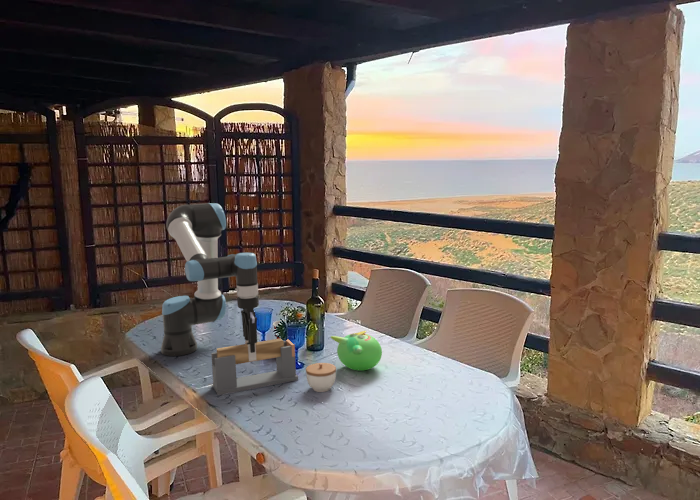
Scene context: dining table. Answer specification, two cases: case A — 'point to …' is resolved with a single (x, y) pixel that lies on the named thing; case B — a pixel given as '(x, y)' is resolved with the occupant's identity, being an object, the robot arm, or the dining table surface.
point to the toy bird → (358, 351)
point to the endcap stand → (229, 383)
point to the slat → (262, 351)
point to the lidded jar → (321, 376)
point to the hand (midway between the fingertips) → (251, 358)
